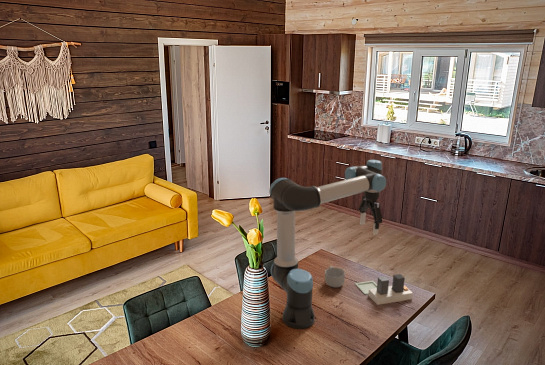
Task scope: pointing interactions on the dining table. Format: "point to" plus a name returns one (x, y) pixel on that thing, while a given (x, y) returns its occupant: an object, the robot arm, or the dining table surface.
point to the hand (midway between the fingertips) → (368, 229)
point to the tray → (366, 286)
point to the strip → (388, 293)
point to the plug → (398, 283)
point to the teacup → (334, 276)
